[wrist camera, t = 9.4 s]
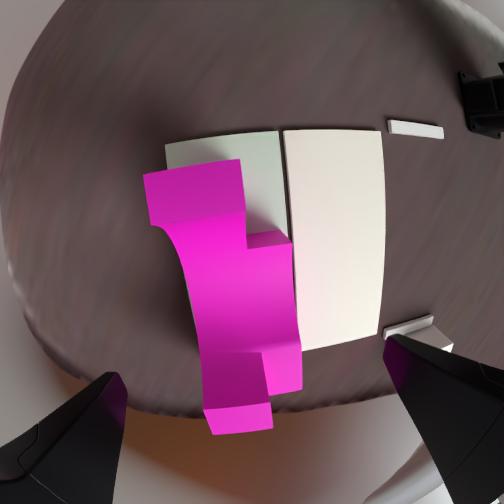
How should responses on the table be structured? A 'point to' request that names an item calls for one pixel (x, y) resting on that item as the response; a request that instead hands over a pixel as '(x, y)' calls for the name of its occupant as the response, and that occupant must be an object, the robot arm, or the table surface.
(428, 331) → the die
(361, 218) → the game board
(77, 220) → the table surface
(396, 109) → the table surface
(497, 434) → the robot arm
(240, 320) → the toy block
